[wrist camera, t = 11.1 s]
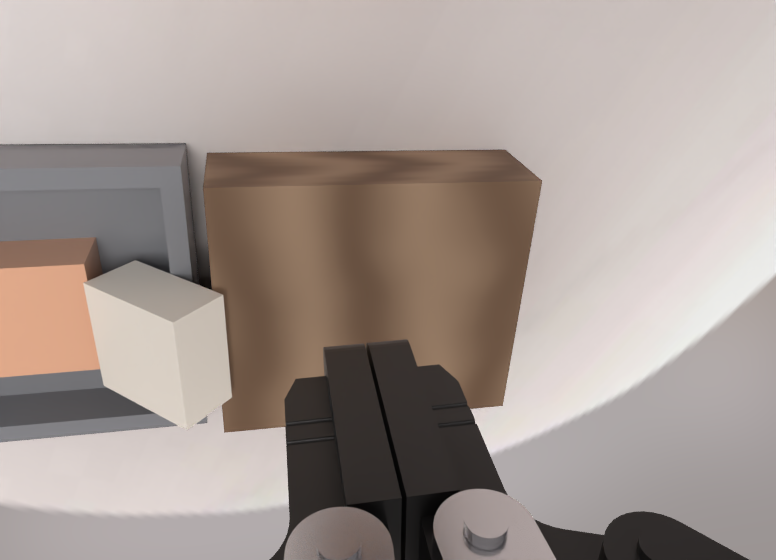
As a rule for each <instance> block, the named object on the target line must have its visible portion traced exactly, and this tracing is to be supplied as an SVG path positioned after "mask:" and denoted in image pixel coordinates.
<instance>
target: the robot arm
mask: <svg viewBox="0 0 776 560" xmlns="http://www.w3.org/2000/svg"><path fill="white" fill-rule="evenodd" d="M323 360H324V376H319V377H309V378H299V379H295V381H294V383H293V385H292V386H291V388H290V390H289V392H288V394H287V396H286V397H285V399H284V403H285V424H286V444H287V446H286V447H287V468H288V490H289V512H290V522H289V529H288V533H287V535H286V538H285V540H284V542H283V544H282V545H281V547H280V549H279V550H278V551H277V552H276V553H275V555H274V556H273V557H272V558H271V559H270V560H749V559H747V558H745V557H743V556H741V555H739V554H737V553H736V552H734V551H732V550H730V549H728V548H727V547H725V546H723V545H721V544H719V543H717V542H715V541H714V540H712V539H710V538H708V537H706V536H705V535H703V534H701V533H699V532H697V531H696V530H694V529H692V528H690V527H688V526H686V525H684V524H683V523H681V522H679V521H676V520H675V519H672V518H670V517H667V516H664V515H661V514H657V513H652V512H632V513H626V514H624V515H621V516H619V517H618V518H616V519H614V520H613V521H612V522H611V523H610V524H609V526H608V527H607V529H606V531H605V535H599V534H592V533H585V532H578V531H572V530H565V529H560V528H555V527H552V526H549V525H546V524H543V523H541V522H539V521H537V520H535V519H534V518H533V517H532V515H531V514H530V512H529V511H528V510H527V509H526V508H525V507H524V506H523V505H522V504H521V503H519V502H518V501H517V500H515V499H513V498H512V497H510V496H508V495H507V493H506V491H505V489H504V487H503V485H502V482H501V480H500V478H499V476H498V473H497V471H496V468H495V466H494V464H493V461H492V459H491V457H490V454H489V452H488V450H487V447H486V445H485V442H484V440H483V438H482V435H481V433H480V431H479V428H478V426H477V424H475V419H474V417H473V414H472V412H471V410H470V407H469V406H468V405H467V400H466V398H465V396H464V393H463V391H462V388H461V386H460V384H459V381H458V380H456V379H455V378H454V377H453V376H452V375H451V374H450V373H449V372H447V371H446V370H445V369H444V368H443V367H442V366H441V365H440V364H437V365H427V366H417V364H416V361H415V358H414V355H413V352H412V349H411V346H410V344H409V341H408V340H407V339H404V340H393V341H382V342H372V343H367V344H366V348H365V345H364V343H363V344H352V345H341V346H330V347H323Z"/></svg>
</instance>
